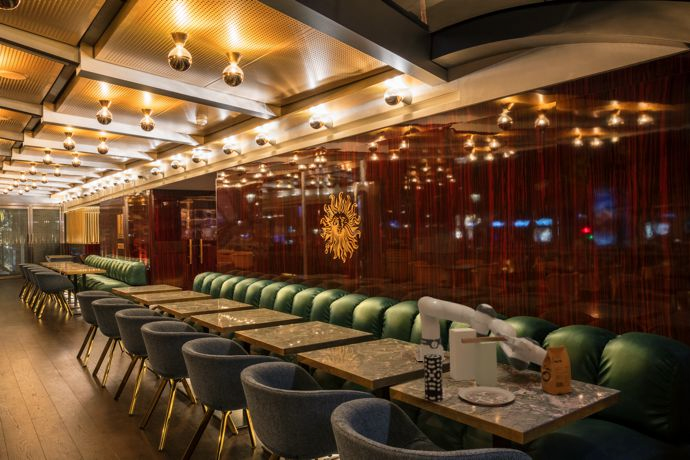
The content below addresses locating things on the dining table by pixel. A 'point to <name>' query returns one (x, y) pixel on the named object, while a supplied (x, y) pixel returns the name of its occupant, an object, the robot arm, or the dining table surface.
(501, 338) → the stick
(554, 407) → the dining table surface
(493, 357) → the sage pillar
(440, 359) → the white-spotted black cylinder
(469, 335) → the tall stand
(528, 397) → the dining table surface
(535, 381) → the dining table surface
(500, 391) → the plate
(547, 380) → the coffee package
